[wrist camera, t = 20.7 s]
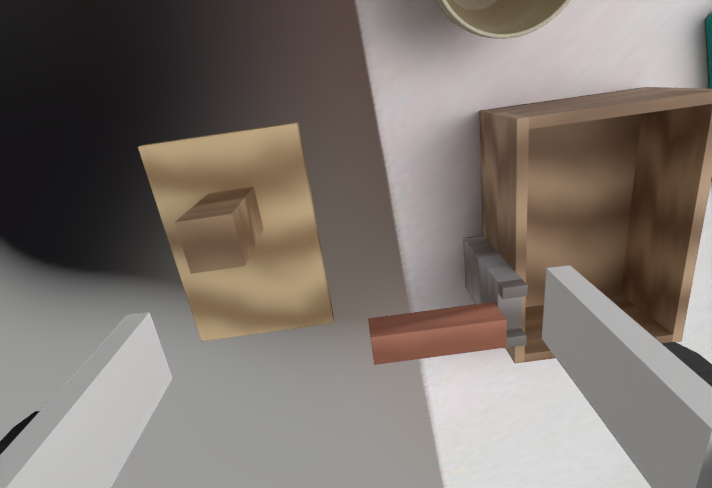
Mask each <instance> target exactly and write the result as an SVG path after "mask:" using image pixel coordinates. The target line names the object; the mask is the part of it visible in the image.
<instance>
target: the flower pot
mask: <svg viewBox="0 0 712 488" xmlns="http://www.w3.org/2000/svg"><path fill="white" fill-rule="evenodd" d="M569 1H570V0H437V2H438V3H439V5H440V7H441V8H442V10H443V11H444V12H445V14H446V15H447V16H448V17H449V18H450V19H451V20H452V21H453V22H454V23H456V24H457V25H458V26H460V27H461V28H463V29H465V30H467V31H469V32H471V33H473V34H476V35H480V36H483V37H488V38H513V37H518V36H522V35H525V34H528V33H531V32H533V31H535V30H537V29H538V28H540V27H542V26H544V25H545V24H547V23H548V22H549V21H551V20H552V19H553V18H554V17H555V16H557V15H558V14H559V13H560V12H561V11H562V10H563V9H564V7H565V6H566V5H567V4H568V3H569Z"/></svg>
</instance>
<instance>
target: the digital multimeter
mask: <svg viewBox="0 0 712 488" xmlns="http://www.w3.org/2000/svg"><path fill="white" fill-rule="evenodd" d="M705 25H706V37H707V49H708V70H709V89H712V13H711V14H710V15H708V17H707V18H706V22H705ZM711 180H712V178H711Z"/></svg>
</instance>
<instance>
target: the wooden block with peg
mask: <svg viewBox="0 0 712 488" xmlns="http://www.w3.org/2000/svg"><path fill="white" fill-rule="evenodd" d="M138 149H139V152H140V155H141V158H142V161H143V164H144V167H145V170H146V173H147V176H148V179H149V182H150V185H151V188H152V191H153V194H154V198H155V201H156V204H157V207H158V210H159V213H160V216H161V219H162V222H163V225H164V228H165V231H166V234H167V237H168V240H169V244H170V247H171V249H172V253H173V255H174V259H175V262H176V265H177V268H178V271H179V274H180V277H181V280H182V283H183V286H184V289H185V293H186V296H187V298H188V302H189V304H190V308H191V311H192V314H193V317H194V320H195V323H196V326H197V329H198V332H199V335H200V338H201V341H208V340H215V339H223V338H230V337H237V336H244V335H252V334H259V333H265V332H273V331H280V330H287V329H295V328H302V327H309V326H317V325H324V324H331V323H334V315H333V310H332V304H331V299H330V294H329V288H328V282H327V277H326V271H325V266H324V261H323V256H322V250H321V244H320V239H319V233H318V228H317V222H316V217H315V212H314V206H313V201H312V195H311V190H310V184H309V179H308V173H307V168H306V162H305V157H304V152H303V146H302V141H301V135H300V130H299V124H298V122H295V123H288V124H282V125H275V126H268V127H261V128H255V129H248V130H241V131H234V132H228V133H221V134H214V135H207V136H201V137H194V138H187V139H180V140H174V141H167V142H160V143H153V144H147V145H142V146H139V147H138Z"/></svg>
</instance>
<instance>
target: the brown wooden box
mask: <svg viewBox="0 0 712 488" xmlns="http://www.w3.org/2000/svg"><path fill="white" fill-rule="evenodd" d="M480 139H481V183H482V227H483V236H477V237H470V238H464V257H465V282H466V288H467V290H468V292H469V293H470V295H471V296H472V298H473V300H474V301H475V303H476V304H482V303H489V302H495V304H496V305H497V307H498V308H499V309H500V311H501V312H502V314H503V315H504V317H505V318H506V320H507V347H505V348H506V350H507V351H508V353H509V355H510V356H511V358H512V360H513V361H514V363H522V362H529V361H537V360H545V359H552V358H556V357H555V356H554V355H553V353H552V352H551V351H550V349H549V348H548V346H547V345H546V344H545V342H544V341H543V340H542V327H543V312H544V298H545V283H546V268H551V267H560V266H569V265H570V266H571V267H573V268H574V269H575V270H576V271H577V272H578V273H580V274H581V275H582V276H583V277H584V278H585V279H587V280H588V281H589V282H590V283H591V284H592V285H594V286H595V287H596V288H597V289H598V290H599V291H601V292H602V293H603V294H604V295H605V296H606V297H608V298H609V299H610V300H611V301H612V302H613V303H615V304H616V305H617V306H618V307H619V308H620V309H622V310H623V311H624V312H625V313H626V314H627V315H629V316H630V317H631V318H632V319H633V320H634V321H636V322H637V323H638V324H639V325H640V326H641V327H643V328H644V329H645V330H646V331H647V332H648V333H650V334H651V335H652V336H653V337H654V338H655V339H656V340H658V341H659V342H660V343H668V342H681V341H682V336H683V330H684V325H685V320H686V314H687V309H688V303H689V298H690V292H691V287H692V281H693V276H694V270H695V265H696V260H697V254H698V249H699V243H700V238H701V232H702V227H703V221H704V216H705V211H706V205H707V200H708V194H709V189H710V183H711V178H712V89H699V88H657V87H644V88H637V89H630V90H622V91H615V92H608V93H601V94H594V95H587V96H580V97H573V98H566V99H559V100H552V101H545V102H538V103H530V104H523V105H516V106H509V107H502V108H495V109H488V110H481V111H480Z"/></svg>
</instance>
